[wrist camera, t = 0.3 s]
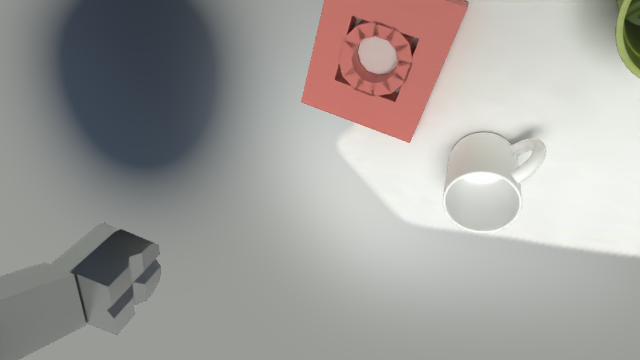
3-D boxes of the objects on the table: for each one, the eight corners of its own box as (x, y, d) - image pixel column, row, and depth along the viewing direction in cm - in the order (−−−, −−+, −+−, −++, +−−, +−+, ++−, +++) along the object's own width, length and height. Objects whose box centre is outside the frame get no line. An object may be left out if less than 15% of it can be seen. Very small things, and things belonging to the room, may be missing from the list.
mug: (521, 100, 51) (527, 139, 43) (560, 152, 53) (573, 199, 45) (436, 151, 58) (427, 193, 50) (473, 195, 60) (470, 243, 51)
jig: (340, -40, 49) (333, -37, 47) (468, 2, 47) (467, 7, 45) (308, 93, 59) (301, 102, 57) (413, 132, 57) (409, 142, 55)
